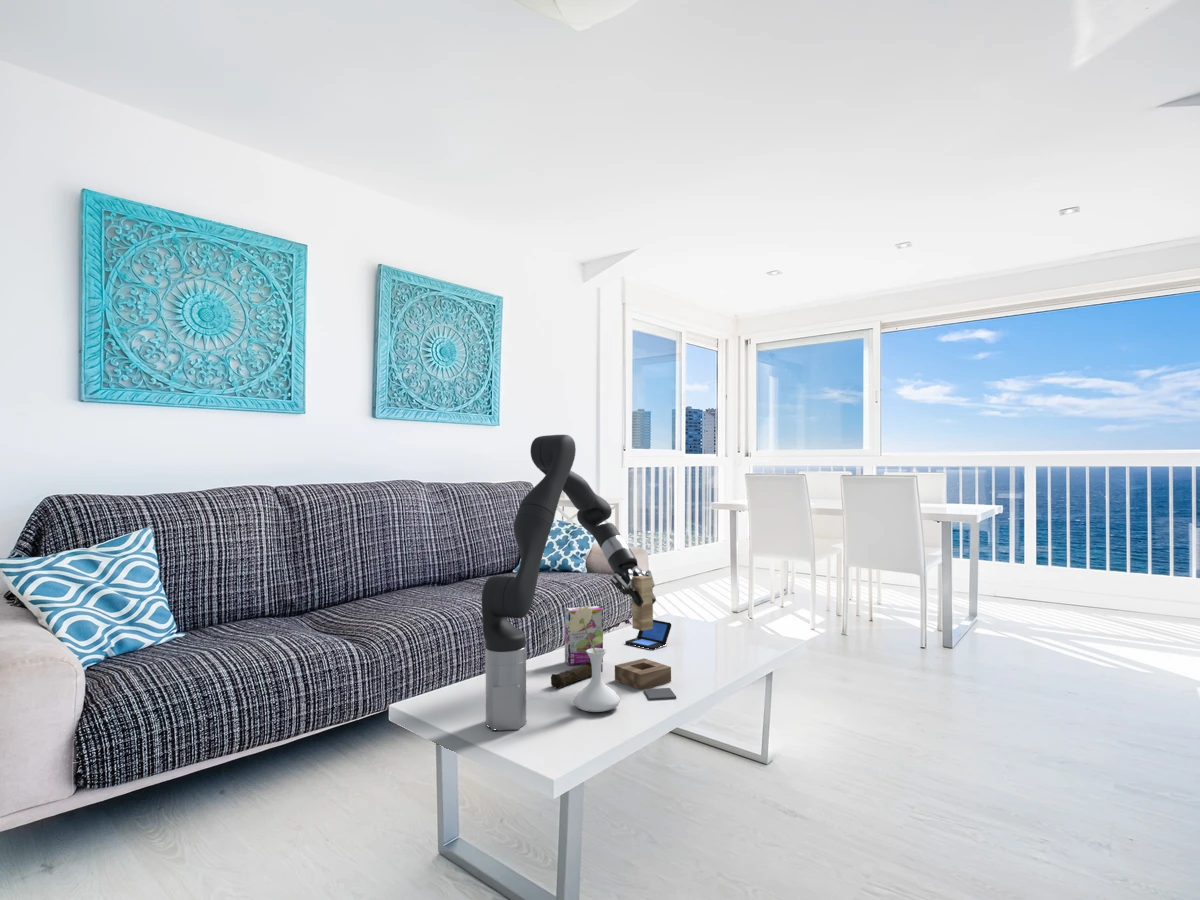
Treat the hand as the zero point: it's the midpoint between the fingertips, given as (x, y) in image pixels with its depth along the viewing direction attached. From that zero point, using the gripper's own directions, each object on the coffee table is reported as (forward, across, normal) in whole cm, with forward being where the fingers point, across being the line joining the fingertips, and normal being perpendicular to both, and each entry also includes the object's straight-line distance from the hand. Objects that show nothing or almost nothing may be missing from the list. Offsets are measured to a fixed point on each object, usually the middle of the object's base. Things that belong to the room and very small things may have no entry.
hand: (647, 603), depth 173 cm
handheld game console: (-7, +29, +38) cm, 48 cm away
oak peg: (+4, 0, +6) cm, 7 cm away
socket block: (+13, +1, +18) cm, 22 cm away
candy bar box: (-5, -1, +35) cm, 36 cm away
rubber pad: (+21, -4, +10) cm, 24 cm away
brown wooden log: (+5, -12, +27) cm, 30 cm away
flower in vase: (+19, -23, +12) cm, 32 cm away
